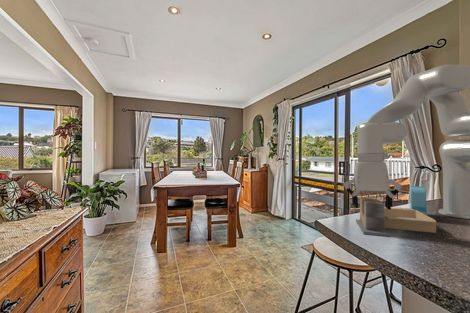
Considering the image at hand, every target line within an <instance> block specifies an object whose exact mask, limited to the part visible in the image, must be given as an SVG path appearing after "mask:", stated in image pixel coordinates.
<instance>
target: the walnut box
mask: <svg viewBox="0 0 470 313" xmlns="http://www.w3.org/2000/svg"><path fill="white" fill-rule="evenodd" d="M384 207H385V203H383V202H382V201H380V199H378V198H376V197H361V196H359V220H360V222H361V223H362V224H363V226H364V227H365V229H366V230H372V231H382V232H384V229H385V228H384Z"/></svg>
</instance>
